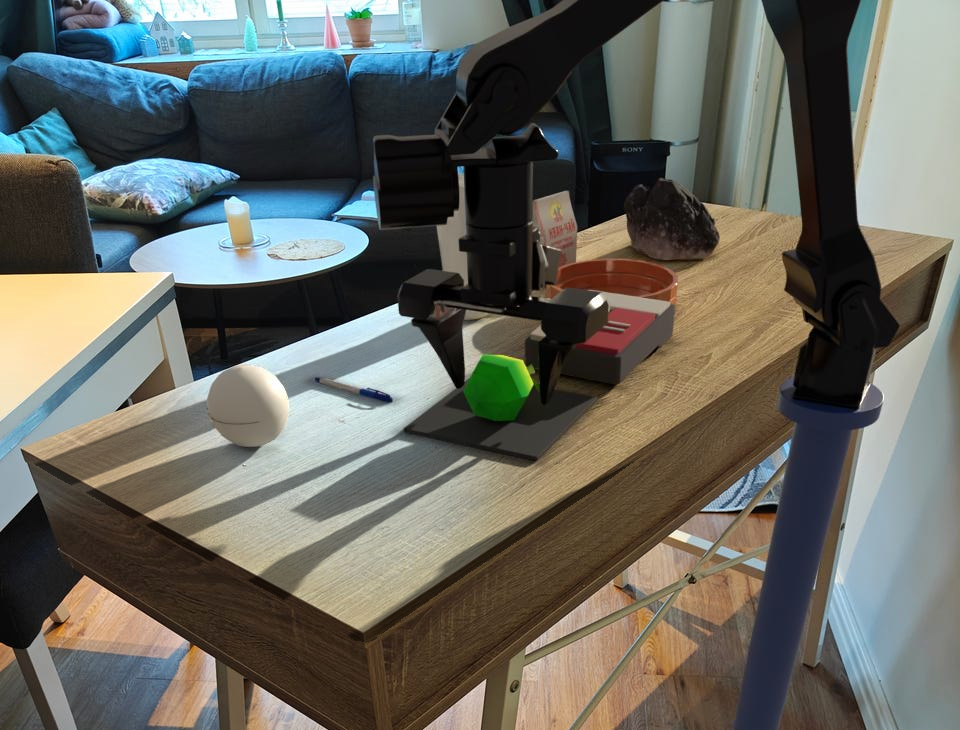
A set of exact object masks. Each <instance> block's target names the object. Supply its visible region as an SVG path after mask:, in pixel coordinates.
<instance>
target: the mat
mask: <svg viewBox="0 0 960 730" xmlns="http://www.w3.org/2000/svg"><path fill="white" fill-rule="evenodd" d="M469 379H470V377H469V378H467V379H465V383H464V386H463V387H462V388H460V389H458V388H456V387H455V388H454V389H453V390H452V391H450V392H449V393H448V394H447V395H445V396H444V397H443V398H441V399H440V400H439V401H438V402H436V403H435V404H434V405H433V406H431V407H430V408H428V409H426V411H424V412H423V413H422V414H420V415H419V416H417V418H415V419H414V420H412V421H411V422H410V423H409V424H408V425H406V426H405V427H403V433H407V434H412V435H415V436H416V435H417V436H421V437H426V438H430V439H435V440H440V441H444V442H448V443H452V444H458V445H462V446H467V447H471V448H476V449H481V450H485V451H490V452H493V453H494V452H495V453H499V454H504V455H507V456H513V457H518V458H523V459H526V460H532V461H535V462H538V461H539V460H540V459H541V458H542V457H543V455H545V454H546V453H547V452H548V451H549V450H550V449H551V448H552V446H554V444H555V443H556V442H558V441H559V440H560V439H561V438H562V437H563V436H564V435H565V434H566V433H567V432H568V430H569V429H571V428H572V427H573V425H575V424H576V422H578V420H580V419H581V418H582V417H583V415H584V414H586V413H587V411H589V410H590V409H591V408H592V406H593V405H594V404H596V403H597V402H598V396H594V395H588V394H583V393H578V392H572V391H567V390H561V389H556V388H555V389H554V391H553V394H552V397H551V399H550V401H549V403H547V404H546V405H542V403H541V398H540V393H539V392H538V390H537V389H536V388H535V386H534V385H533V386H532V388H531V390H530V393H529V395H528V397H527V398H526V400H525V402H524V404H523V405H522V407H521V409H520V411H519V412H518V414H517V416H516V418H515V420H510V421H494V420H490V419H487V418H483V417H480V416H477V415H474V413H473V411H472V409H471V406H470V404H469V402H468V400H467V398H466V396H465V394H464V392H463V391H464V389H465V387H466V385H467V383H468V381H469Z"/></svg>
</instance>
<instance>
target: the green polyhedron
mask: <svg viewBox="0 0 960 730" xmlns="http://www.w3.org/2000/svg"><path fill="white" fill-rule="evenodd" d="M535 370H536V369H534V368H533V366H532V364H531V365H530V366H528V367H526V366H525V361H524V360H523V359H521V358H520V359H518V358H515V357H510V356H507V355H503V354H488V353H487V354H485V353H483V354H481V357H480V358H479V360H478V362H477V363H476V366H475V367H474V369H473V371H472V373H471V375H470V376H469V378H470V379H469V378H468V379H469V381H468V383H467V385H466V387H465V389H464V391H463V392H464V394H465V396H466V398H467V400H468V402H469V404H470V406H471V409H472V411H473V413H474V415H477V416H480V417H483V418H487V419H490V420H494V421H510V420H515V418H516V416H517V414H518V412H519V411H520V409H521V407H522V405H523V404H524V402H525V400H526V398H527V397H528V395H529V393H530V390H531V388H532V386H533V385H534V386H535V388H536V389H537V390H538V392H539V393H540V391H539V382H538V381H537V380H536V379H534V378H532V377H531V375H534V374H535V373H536V371H535Z"/></svg>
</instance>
